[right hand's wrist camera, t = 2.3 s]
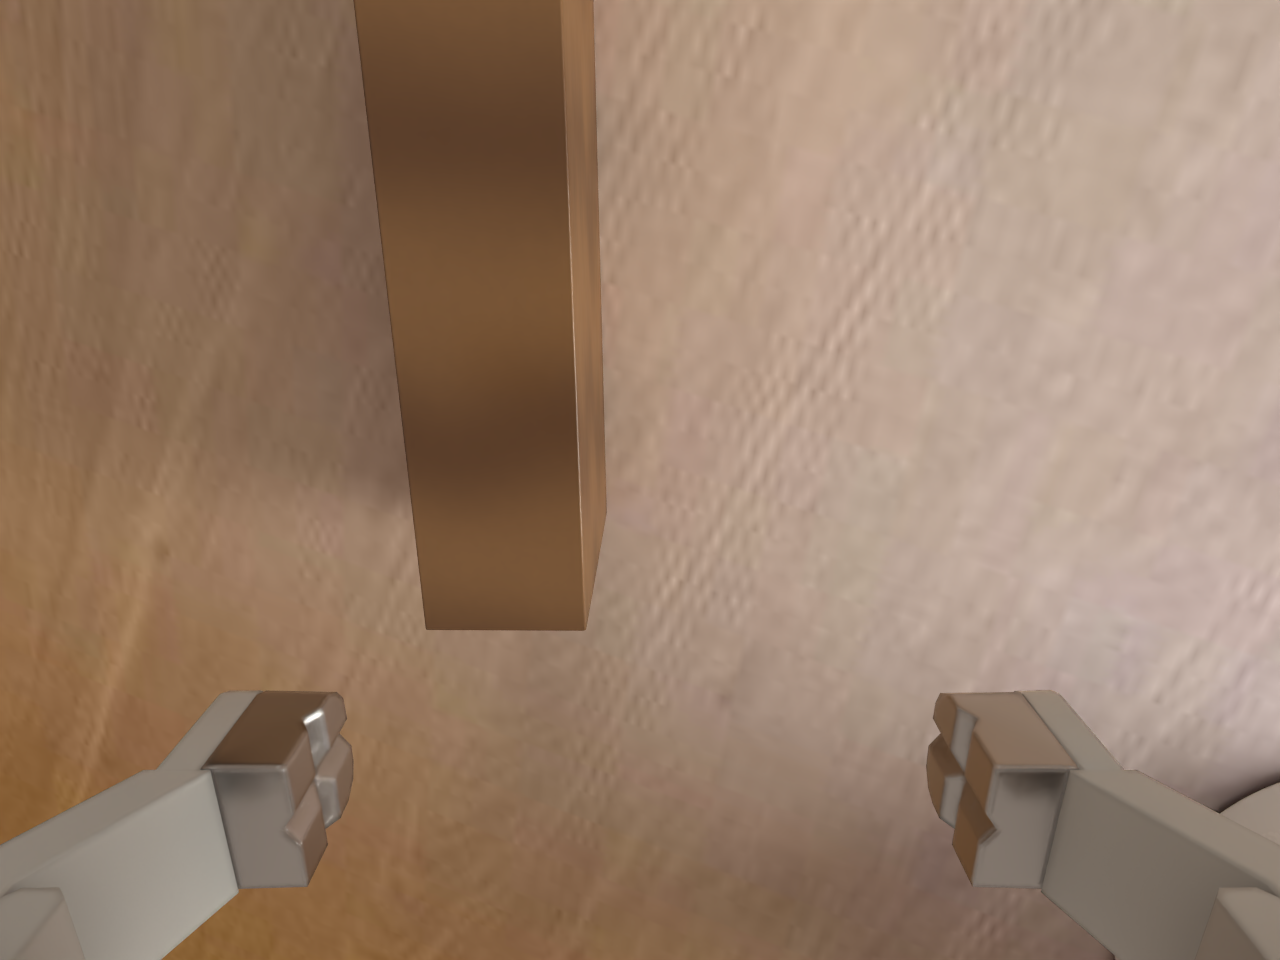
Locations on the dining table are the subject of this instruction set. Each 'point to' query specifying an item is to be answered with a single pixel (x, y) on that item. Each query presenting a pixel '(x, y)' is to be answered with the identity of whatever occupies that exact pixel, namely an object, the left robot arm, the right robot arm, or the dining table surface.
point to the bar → (493, 298)
